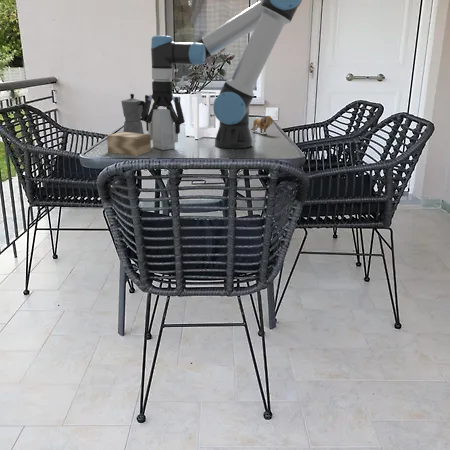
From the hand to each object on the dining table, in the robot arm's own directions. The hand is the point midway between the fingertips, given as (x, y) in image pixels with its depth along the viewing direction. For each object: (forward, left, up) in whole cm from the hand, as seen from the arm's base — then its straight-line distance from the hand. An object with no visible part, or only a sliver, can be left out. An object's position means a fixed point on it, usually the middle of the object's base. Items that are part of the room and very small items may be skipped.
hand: (163, 141), depth 184 cm
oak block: (+7, +13, -3) cm, 15 cm away
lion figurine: (-22, -57, -3) cm, 61 cm away
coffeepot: (+24, -19, -3) cm, 31 cm away
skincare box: (0, 0, -3) cm, 3 cm away
